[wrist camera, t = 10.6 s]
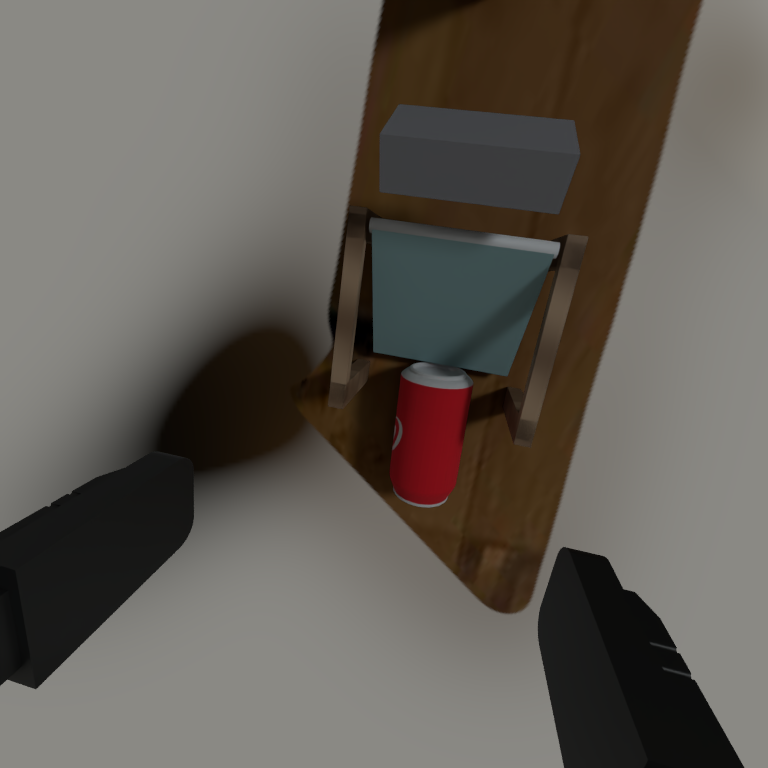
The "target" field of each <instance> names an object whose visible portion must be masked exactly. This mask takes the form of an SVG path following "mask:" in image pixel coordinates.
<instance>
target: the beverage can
mask: <svg viewBox="0 0 768 768" xmlns="http://www.w3.org/2000/svg"><path fill="white" fill-rule="evenodd" d="M472 388H473V381H472V379H471V378H470V377H469V376H468V375H467V374H466V372H465V371H463V370H462V369H460V368H457V367H453V366H448V365H442V364H437V363H431V362H420V363H414V364H412V365H411V366H410V367H407V368H406V369H404V370H403V371H402V373H401V379H400V387H399V396H398V404H397V413H396V421H395V430H394V438H393V446H392V455H391V463H390V479H391V481H392V484H393V490H394V493H395V494H396V496H397V497H398V498H399V499H401V500H402V501H404V502H406V503H408V504H411V505H414V506H418V507H435V506H439V505H441V504H443V503H444V502H445V501H446V500H447V498H448V495H449V494H450V493H451V491H452V490H453V489H454V487H455V485H456V480H457V475H458V469H459V463H460V457H461V452H462V446H463V440H464V434H465V429H466V423H467V417H468V411H469V406H470V400H471V394H472Z"/></svg>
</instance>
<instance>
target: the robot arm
mask: <svg viewBox="0 0 768 768" xmlns="http://www.w3.org/2000/svg"><path fill="white" fill-rule="evenodd" d="M193 478H194V477H193V464H192V462H191V461H190V460H189V459H187V458H183V457H179V456H174V455H170V454H166V453H161V452H152V453H150V454H148V455H146V456H144V457H143V458H141V459H139V460H137V461H136V462H134V463H132V464H131V465H129V466H127V467H126V468H123V469H120V470H117V471H114V472H111V473H108V474H105V475H102V476H99V477H96V478H95V479H93V480H91V481H89V482H87V483H86V484H84V485H82V486H81V487H79V488H77V489H75V490H73V491H72V493H71V495H69V494H66V495H65V496H63V497H61V498H59V499H58V500H56V501H54V502H53V503H51V506H50V507H47V506H45V507H43V508H42V509H40V510H38V511H36V512H35V513H33V514H31V515H29V516H28V517H26V518H24V519H22V520H21V521H19V522H17V523H15V524H14V525H12V526H10V527H9V528H7V529H5V530H3V531H1V532H0V685H1V684H3V683H4V682H5V681H6V680H11V681H13V682H16V683H19V684H22V685H25V686H28V687H31V688H34V689H36V688H38V687H39V686H40V685H41V684H42V683H43V682H44V681H45V680H46V679H47V678H48V677H49V676H50V675H51V674H52V673H53V672H54V671H55V670H56V669H57V668H58V667H59V666H60V665H61V664H62V663H63V662H64V661H65V660H66V659H67V658H68V657H69V656H70V655H71V654H72V653H73V652H74V651H75V650H76V649H77V648H78V647H79V646H80V645H81V644H82V643H83V642H84V641H85V640H86V639H87V638H88V637H89V636H91V634H92V633H94V631H96V630H97V629H98V628H99V627H100V626H101V625H102V623H104V622H105V621H106V620H107V619H108V618H109V617H110V616H111V615H112V614H113V613H114V612H115V611H116V610H117V609H118V608H119V607H120V606H121V605H122V604H123V603H124V602H125V601H126V600H127V599H128V598H129V597H130V596H131V595H132V594H133V593H134V592H135V591H136V590H137V589H138V588H139V587H140V586H141V585H142V584H143V583H144V582H145V581H146V580H147V579H148V578H149V577H150V576H151V575H152V574H153V573H155V572H156V570H158V569H159V567H161V566H162V565H163V564H164V563H165V562H166V561H167V560H168V558H170V557H171V556H172V555H173V554H174V553H175V552H176V551H177V550H178V549H179V548H180V547H181V546H182V544H183V543H184V542H185V540H186V539H187V537H188V535H189V533H190V531H191V528H192V525H193V519H194V484H193V483H194V479H193ZM538 639H539V646H540V651H541V656H542V661H543V665H544V671H545V675H546V680H547V685H548V690H549V695H550V700H551V705H552V710H553V715H554V720H555V724H556V730H557V734H558V739H559V744H560V749H561V754H562V759H563V763H564V768H744V766H743V765H742V763H741V761H740V759H739V758H738V756H737V754H736V752H735V750H734V748H733V747H732V745H731V743H730V741H729V740H728V738H727V736H726V734H725V733H724V731H723V729H722V727H721V726H720V724H719V722H718V720H717V718H716V717H715V715H714V713H713V711H712V709H711V708H710V706H709V704H708V702H707V701H706V699H705V697H704V695H703V693H702V692H701V690H700V688H699V686H698V685H697V683H696V681H695V680H692V679H691V672H690V670H689V669H688V667H687V665H686V663H685V662H684V660H683V658H682V656H681V655H680V654H679V653H677V651H676V648H677V647H676V646H675V644H674V642H673V640H672V639H671V637H670V635H669V633H668V631H667V630H666V628H665V626H664V624H663V623H662V621H661V619H660V618H659V617H658V616H657V615H656V614H655V613H654V612H653V611H652V609H650V607H649V606H648V605H647V604H646V603H645V602H644V601H643V600H642V599H641V598H640V597H639V596H638V595H637V594H636V593H635V592H632V591H628V590H624V589H623V588H622V586H621V584H620V582H619V580H618V578H617V576H616V574H615V572H614V570H613V568H612V566H611V564H610V562H609V560H608V559H607V558H606V557H604V556H600V555H596V554H592V553H588V552H583V551H579V550H574V549H570V548H566V547H563V548H562V549H561V550H560V551H559V553H558V555H557V558H556V561H555V564H554V567H553V570H552V573H551V576H550V580H549V583H548V586H547V589H546V592H545V595H544V598H543V601H542V604H541V607H540V612H539V619H538Z"/></svg>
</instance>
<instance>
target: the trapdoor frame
mask: <svg viewBox="0 0 768 768" xmlns="http://www.w3.org/2000/svg"><path fill="white" fill-rule="evenodd" d="M371 217H374V218H381V217H380V216H378V215H377V214H375V213H374V212H372V211H371V210H369V209H368V208H365V207H357V206H350V207H349V216H348V225H347V235H346V244H345V253H344V262H343V272H342V281H341V290H340V299H339V309H338V318H337V327H336V337H335V346H334V355H333V364H332V374H331V383H330V392H329V401H328V406H330V407H335V408H340V409H343V408H344V407H345V406H346V405H347V404H348V403H349V401H350V400H351V399H352V398H353V397H354V396H355V395H356V393H357V392H358V391H359V390H360V389H361V388H362V387H363V385H364V384H365V383H366V382H367V380H368V373H369V366H370V361H366V360H361V359H357V360H356V361H355V362H354V363H353V364H351V363H352V355H353V346H354V338H355V330H356V322H357V314H358V305H359V297H360V289H361V281H362V273H363V264H364V256H365V248H366V243H368V244H371V245H372V233H370V232H369V223H370V219H371ZM381 219H383V218H381ZM551 241H553V242H560V249H559V253H558V255H557V257H556V259H554V258H553V259H552V262H551V265H550V267H549V270H550V271H555V275H554V278H553V282H552V286H551V290H550V294H549V298H548V302H547V306H546V309H545V313H544V317H543V321H542V325H541V329H540V333H539V337H538V340H537V344H536V348H535V352H534V356H533V360H532V364H531V367H530V371H529V375H528V379H527V383H526V387H525V391H524V394H523V392H522V390H521V389H517V388H512V387H507V391H506V395H505V399H504V403H503V410H504V413H505V417H506V420H507V423H508V427H509V430H510V433H511V437H512V440H513V443H514V444H516V445H521V446H525V447H530V448H531V444H532V441H533V437H534V433H535V430H536V426H537V422H538V419H539V415H540V411H541V408H542V404H543V401H544V397H545V393H546V390H547V386H548V382H549V379H550V375H551V371H552V368H553V364H554V361H555V357H556V353H557V350H558V346H559V342H560V339H561V335H562V331H563V328H564V324H565V321H566V317H567V313H568V310H569V306H570V302H571V299H572V295H573V291H574V288H575V284H576V281H577V277H578V273H579V270H580V266H581V262H582V259H583V255H584V252H585V248H586V244H587V241H588V237H586V236H579V235H571V234H568V235H565V236H562V237H559V238H557V239H554V240H551Z"/></svg>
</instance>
